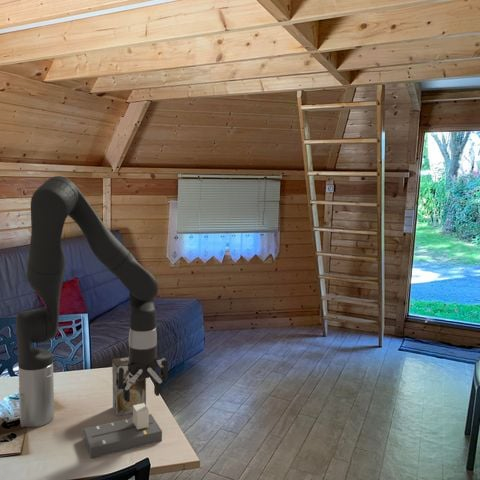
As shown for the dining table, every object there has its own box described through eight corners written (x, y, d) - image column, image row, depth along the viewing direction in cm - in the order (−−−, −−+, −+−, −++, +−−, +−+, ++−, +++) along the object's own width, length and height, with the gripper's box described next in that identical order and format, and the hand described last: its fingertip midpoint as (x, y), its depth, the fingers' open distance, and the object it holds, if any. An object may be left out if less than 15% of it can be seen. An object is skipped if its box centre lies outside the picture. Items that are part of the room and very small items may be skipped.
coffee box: (140, 401, 151) (141, 354, 149) (146, 410, 145) (146, 361, 143) (112, 407, 147) (111, 358, 144) (116, 416, 141) (116, 366, 139)
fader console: (91, 458, 120) (91, 447, 120) (84, 438, 129) (84, 428, 129) (161, 440, 129) (162, 430, 129) (150, 423, 138) (150, 413, 138)
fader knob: (137, 429, 128) (137, 412, 128) (132, 421, 132) (132, 405, 132) (148, 426, 130) (148, 410, 129) (143, 419, 134) (144, 403, 133)
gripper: (121, 352, 122) (120, 409, 124) (172, 343, 129) (171, 398, 131) (113, 342, 128) (113, 397, 131) (162, 334, 135) (161, 386, 138)
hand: (142, 397), depth 131 cm, fingers open, 8 cm apart
